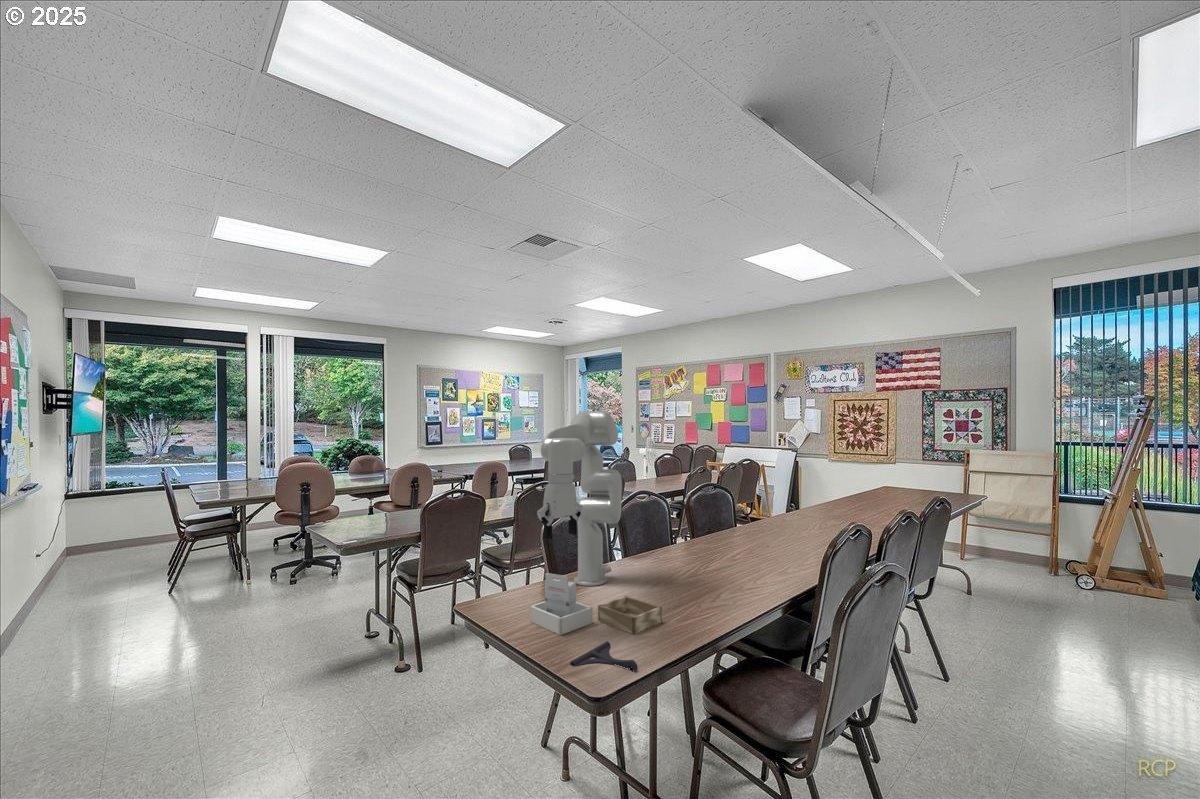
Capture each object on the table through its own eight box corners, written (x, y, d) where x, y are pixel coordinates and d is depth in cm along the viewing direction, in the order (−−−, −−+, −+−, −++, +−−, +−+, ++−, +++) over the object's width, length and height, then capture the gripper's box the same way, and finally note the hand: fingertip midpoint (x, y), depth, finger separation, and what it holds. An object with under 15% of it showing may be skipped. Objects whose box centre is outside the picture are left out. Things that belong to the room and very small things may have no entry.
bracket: (618, 686, 116) (618, 673, 116) (570, 667, 126) (570, 655, 126) (652, 663, 128) (652, 652, 128) (605, 647, 137) (605, 636, 137)
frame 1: (561, 610, 162) (561, 596, 163) (592, 622, 152) (592, 607, 152) (529, 621, 154) (529, 606, 154) (560, 635, 143) (560, 618, 143)
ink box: (577, 621, 153) (577, 572, 154) (568, 627, 149) (568, 576, 149) (553, 617, 157) (553, 568, 158) (544, 622, 153) (544, 572, 153)
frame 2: (626, 610, 163) (626, 595, 163) (662, 622, 152) (661, 607, 152) (598, 620, 154) (598, 605, 154) (634, 634, 143) (633, 618, 144)
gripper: (573, 476, 164) (573, 530, 163) (530, 480, 152) (530, 538, 151) (589, 478, 158) (589, 533, 157) (546, 482, 146) (545, 542, 145)
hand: (560, 536), depth 154 cm, fingers open, 9 cm apart
